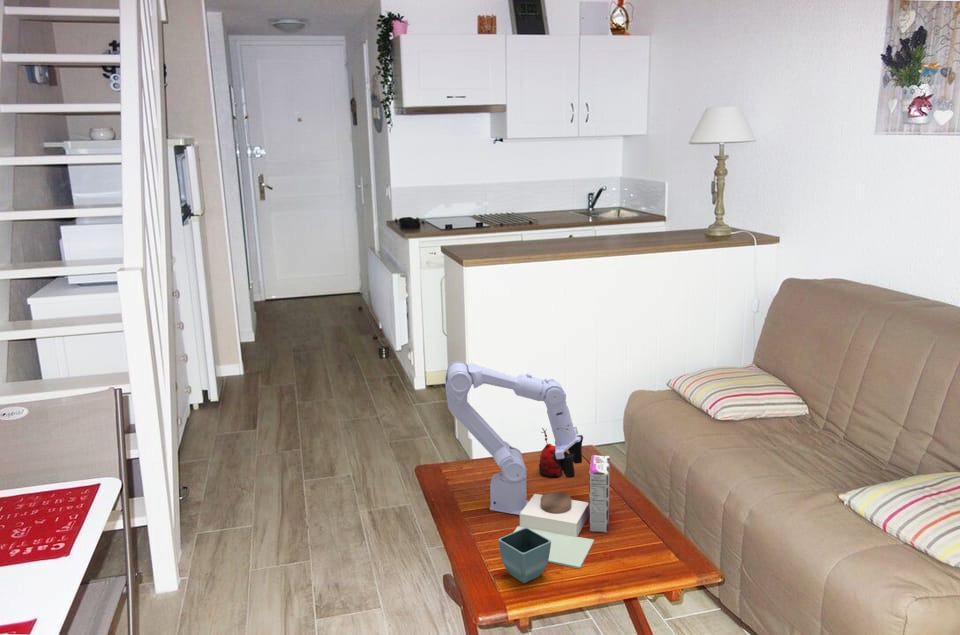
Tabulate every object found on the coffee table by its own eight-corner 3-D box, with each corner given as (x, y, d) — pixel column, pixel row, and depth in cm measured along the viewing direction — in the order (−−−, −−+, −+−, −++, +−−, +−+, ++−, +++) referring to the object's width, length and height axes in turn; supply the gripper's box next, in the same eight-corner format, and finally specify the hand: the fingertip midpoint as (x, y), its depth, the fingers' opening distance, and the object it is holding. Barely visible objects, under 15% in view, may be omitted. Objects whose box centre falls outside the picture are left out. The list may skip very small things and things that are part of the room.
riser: (519, 527, 191) (519, 513, 190) (534, 507, 202) (534, 493, 201) (576, 538, 185) (576, 523, 184) (588, 516, 196) (589, 502, 195)
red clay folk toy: (566, 477, 219) (566, 429, 216) (543, 480, 218) (543, 432, 214) (557, 467, 227) (557, 420, 223) (535, 469, 225) (535, 423, 222)
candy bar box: (590, 511, 199) (591, 454, 195) (609, 512, 198) (610, 455, 194) (588, 532, 188) (588, 472, 184) (608, 533, 187) (609, 473, 183)
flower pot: (526, 560, 176) (526, 526, 174) (552, 576, 169) (552, 540, 167) (498, 574, 170) (497, 538, 168) (523, 591, 164) (523, 554, 162)
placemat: (499, 552, 179) (499, 550, 179) (518, 527, 191) (518, 525, 191) (580, 568, 172) (580, 566, 172) (594, 541, 183) (594, 539, 183)
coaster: (536, 510, 191) (536, 503, 191) (546, 497, 198) (546, 490, 198) (566, 515, 188) (566, 508, 188) (575, 502, 195) (575, 495, 195)
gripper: (568, 435, 189) (581, 482, 192) (582, 411, 202) (595, 455, 205) (542, 438, 193) (556, 484, 196) (558, 413, 205) (571, 457, 208)
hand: (574, 469), depth 201 cm, fingers open, 7 cm apart
